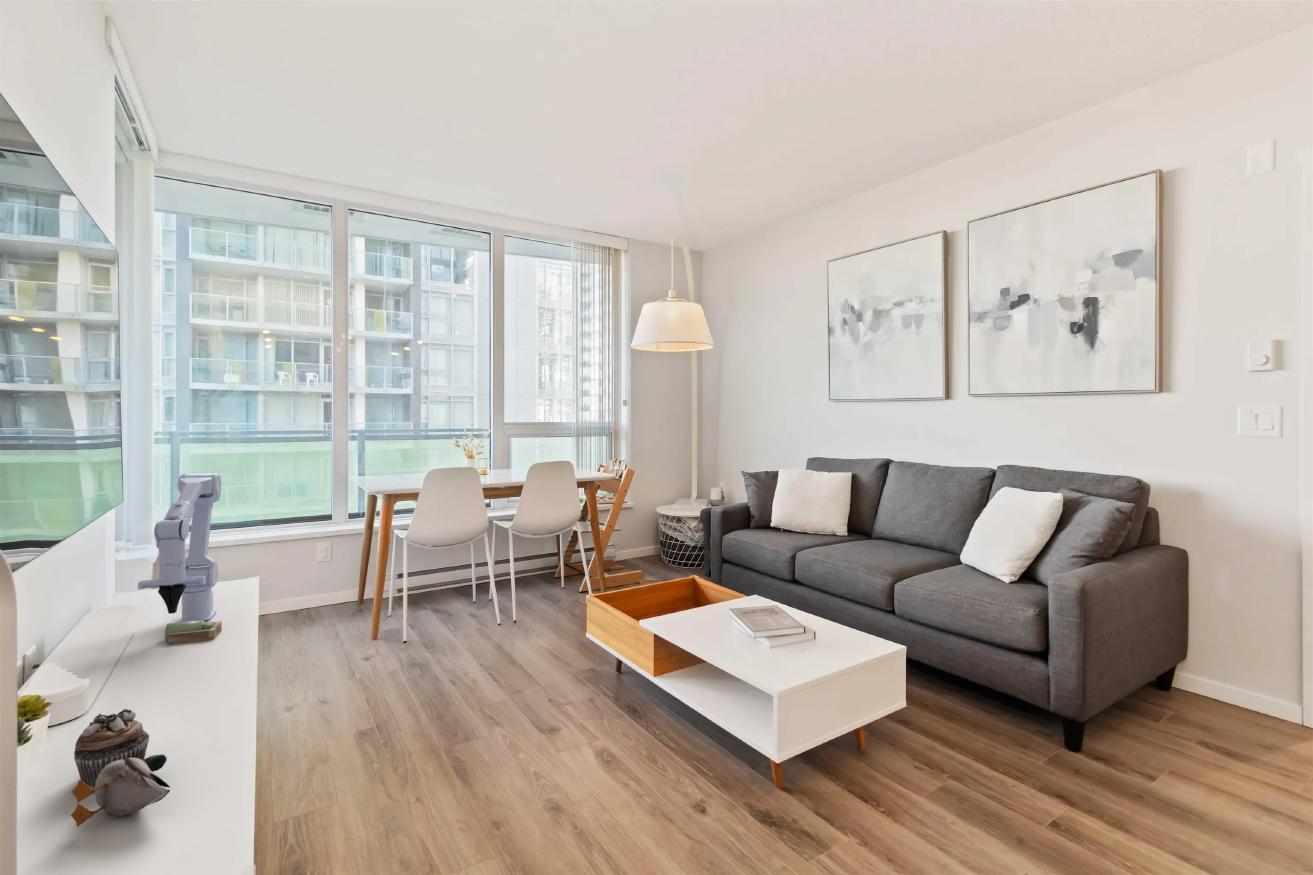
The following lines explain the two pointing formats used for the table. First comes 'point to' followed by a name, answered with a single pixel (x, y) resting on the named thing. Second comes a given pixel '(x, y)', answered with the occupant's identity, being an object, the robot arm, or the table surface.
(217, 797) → the table surface
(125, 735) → the cupcake
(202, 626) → the bottle
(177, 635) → the u rest
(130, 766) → the decorative duck model
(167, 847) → the table surface
